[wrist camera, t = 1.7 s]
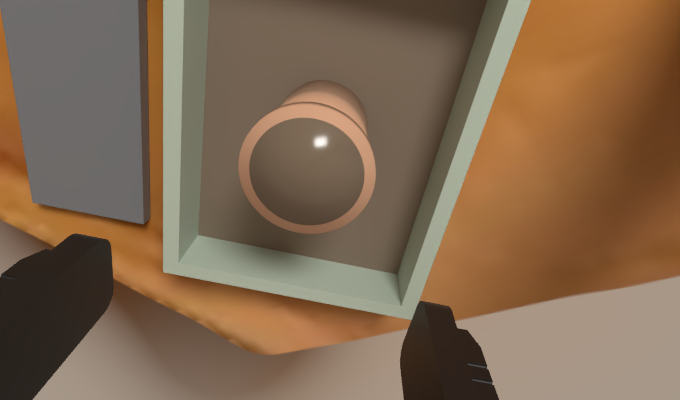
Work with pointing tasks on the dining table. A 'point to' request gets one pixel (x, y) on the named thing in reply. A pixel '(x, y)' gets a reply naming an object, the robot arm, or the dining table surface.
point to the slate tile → (83, 102)
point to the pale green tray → (382, 121)
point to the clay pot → (310, 160)
